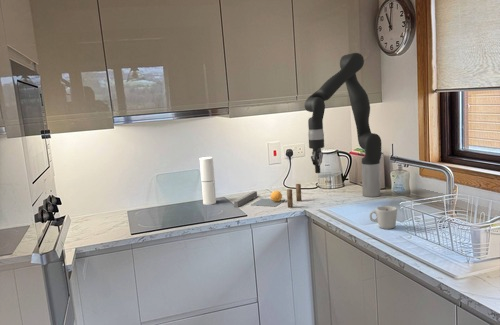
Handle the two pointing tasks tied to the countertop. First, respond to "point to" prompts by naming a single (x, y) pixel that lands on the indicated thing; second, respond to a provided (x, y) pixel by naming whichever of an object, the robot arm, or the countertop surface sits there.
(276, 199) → the ball
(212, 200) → the cylindrical container
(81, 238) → the countertop surface
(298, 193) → the post
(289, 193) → the post
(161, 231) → the countertop surface
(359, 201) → the countertop surface
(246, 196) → the stopper wall
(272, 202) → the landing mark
